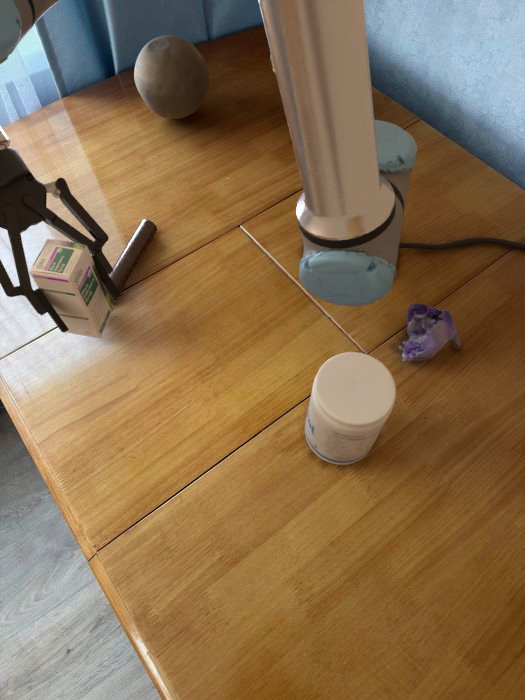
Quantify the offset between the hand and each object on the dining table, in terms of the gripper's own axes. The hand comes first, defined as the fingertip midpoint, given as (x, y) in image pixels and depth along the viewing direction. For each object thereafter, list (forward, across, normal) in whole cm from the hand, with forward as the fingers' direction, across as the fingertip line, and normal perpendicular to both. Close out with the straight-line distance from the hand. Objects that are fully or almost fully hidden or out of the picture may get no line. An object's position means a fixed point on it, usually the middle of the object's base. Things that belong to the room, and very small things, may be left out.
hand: (91, 313), depth 73 cm
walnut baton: (-1, -11, -12) cm, 17 cm away
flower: (+29, -36, +18) cm, 49 cm away
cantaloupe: (-20, -41, -31) cm, 55 cm away
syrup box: (+2, 0, -6) cm, 7 cm away
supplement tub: (+29, -16, +18) cm, 38 cm away
